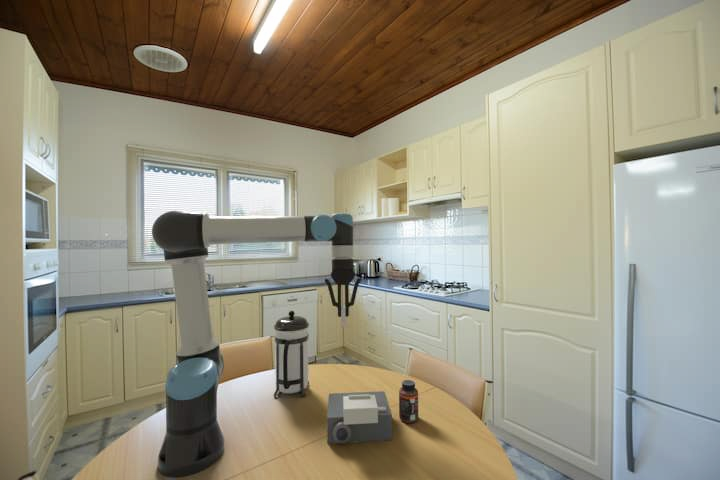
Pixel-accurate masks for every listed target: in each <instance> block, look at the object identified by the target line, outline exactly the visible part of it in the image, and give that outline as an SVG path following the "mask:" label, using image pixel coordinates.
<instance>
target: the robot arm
mask: <svg viewBox="0 0 720 480" xmlns="http://www.w3.org/2000/svg"><path fill="white" fill-rule="evenodd" d="M353 220H354V219H353V216H352V215H351V213H333V214H331V216H330V215H328V214H318V215H251V216H250V215H245V216H244V215H242V216H241V215H240V216H238V215H237V216H235V215H234V216H233V215H231V216H229V215H228V216H216V215H215V216H211V215H210V214H208V213H207V212H192V211H183V210H171V211H167V212H164V213H162V214H161V215H159V216H158V217H157V218H156V219H155V221H154V222H153V224H152V228H151V236H152V239H153V241H154V242H155V244H156V245H157V246H158V247H159V248H160V249H162V250H163V256H164V262H165V263H166V264H168V265H170V266H171V271H172V280H173V289H174V297H175V305H176V306H175V307H176V312H177V320H178V329H179V336H180V338H179V339H180V346H179V348H178V349H177V351H176V352H175V354H176V355H175V356H176V362H177V363H176V364H174V365H173V366H172V367H171V368H170V369H169V371H168V372H167V375H166V379H165V383H164V385H165V409H166V410H165V411H166V412H165V418H166V422H165V423H166V428H165V430H166V431H165V435H164V439H163V441H162V444H161V447H160V451H159V454H158V457H157V469H158V472H160V473H161V474H163V475H164V476H167V477H175V478H177V477H183V476H184V477H185V476H188V475H192V474H195V473H198V472H200V471H202V470H204V469H206V468H208V467H210V466H211V465H213V464H214V463H215V462H216V461H218V459H219V458H221V456H222V455H223V454H224V453H223V452H224V450H225V438H224V435H223V432H222V430H221V427H220V425H219V422H218V413H217V412H218V406H217V404H218V399H217V397H218V389H219V384H220V381H221V377H222V375H223V373H224V368H225V362H224V357H223V355H222V354H221V348H220V341H219V340H216V339H215V338H214V336H213V328H212V327H213V326H212V321H211V320H212V319H211V312H210V311H211V310H210V302H209V295H208V286H207V285H208V284H207V278H206V272H205V271H206V269H205V261H206V260H207V258H208V257H209V250H208V249H209V247H210V246H211V245H232V244H234V245H235V244H236V245H237V244H259V243H260V244H261V243H267V244H268V243H288V242H289V243H291V242H306V243H307V242H308V243H309V242H331V257H332V259H331V272H330V276H328V277H326V278H324V282H325V284H326V285H327V289H328V292H329V293H328V294H329V296H330V299H331V300H330V301H331V304H332V306H333V307H336V308H337V317H338V318H340V319H341V320H340V327H341V328H346V326H347V325H346V322H347V321H346V320H347V319H346V318H348V317H349V315H350V314H349V313H350V309H349V308H350V307H352V306H354V305H355V302H356V301H355V300H356V297H357V292H358V288H359V285H360V283H361V281H362V278H361V277H358V276H357V275H356V273H355V270H354V259H353V257H354V221H353ZM332 280H333V282H334V283H335V284H336V285H337V301H336V298H335V294H334V288H333V286H332ZM352 281H353V282H354V283H353V284H354V285H353V289H352V292H351V298H349V296H350V295H349V293H350V292H349V284H351V282H352ZM342 285H344V306H342Z"/></svg>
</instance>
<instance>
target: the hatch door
mask: <svg viewBox="0 0 720 480" xmlns="http://www.w3.org/2000/svg"><path fill="white" fill-rule="evenodd" d="M343 414H344V425H346V424H365V423H378V407H377V403H376V398H375V395H370V394H362V395H349V396H343Z"/></svg>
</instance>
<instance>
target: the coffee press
mask: <svg viewBox="0 0 720 480" xmlns="http://www.w3.org/2000/svg"><path fill="white" fill-rule="evenodd" d="M309 326H310V323H309V322H308V320H307V319H306V318H305V317H304V316H299V315H296V314H295V311H294V310H289V312H288V316H284V317H281V318H278V320H276V322H275V324H274V326H273V329H274V331H275V332H274V342H275V343H274V344H275V345H274V346H275V347H274V352H275V353H274V354H275V356H274V358H275V359H274V363H275V366H274V367H275V369H274V370H275V372H274V375H275V388H276V389H275V392H274V394H273V397H274V398H276V399H279V397H280V396H281V394H282V393H283V394H296V393H298V394H299V397H301V398H304V397H306V396H307V395H306V391H305V389H306V388H307V387H308V386H309V384H310V381H309V338H310V337H309V336H310V335H309Z"/></svg>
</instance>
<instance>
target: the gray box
mask: <svg viewBox="0 0 720 480" xmlns="http://www.w3.org/2000/svg"><path fill="white" fill-rule="evenodd" d="M362 394H370V395H375V398H376V403H377V407H378V423H365V424H346V425H344V414H343V396H349V395H362ZM326 416H327V417H326V418H327V419H326V425H327V427H326V429H327V430H326V433H327V434H326V435H327V437H326V438H327V441H326V442H327V444H346V443H359V442H360V443H362V442H380V441H381V442H382V441H393V415H392V410H391V407H390V405H389V401H388V399H387V395H386V392H385V391H383V390H382V391H359V392H339V393H338V392H337V393H336V392H335V393H328V400H327V415H326Z"/></svg>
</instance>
